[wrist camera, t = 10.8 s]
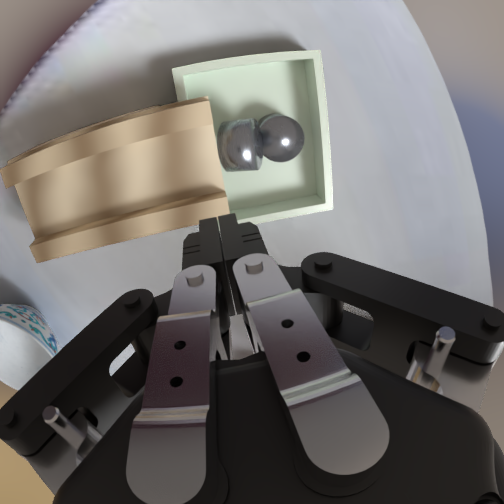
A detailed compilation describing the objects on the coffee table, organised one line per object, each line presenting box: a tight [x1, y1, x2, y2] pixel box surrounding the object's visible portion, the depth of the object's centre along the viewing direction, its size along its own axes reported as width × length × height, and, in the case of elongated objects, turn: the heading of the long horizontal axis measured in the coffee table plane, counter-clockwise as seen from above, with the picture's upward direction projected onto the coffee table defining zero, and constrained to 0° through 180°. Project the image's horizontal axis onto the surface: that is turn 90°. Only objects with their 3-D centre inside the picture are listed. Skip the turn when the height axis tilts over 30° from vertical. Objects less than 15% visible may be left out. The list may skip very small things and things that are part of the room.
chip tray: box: [172, 50, 333, 231], centre depth 28 cm, size 13×16×3 cm
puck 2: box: [258, 113, 305, 162], centre depth 28 cm, size 4×4×2 cm
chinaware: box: [0, 304, 60, 390], centre depth 32 cm, size 15×15×8 cm
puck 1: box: [217, 118, 263, 172], centre depth 25 cm, size 4×4×2 cm
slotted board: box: [0, 96, 230, 263], centre depth 25 cm, size 18×10×8 cm, turn 98°
